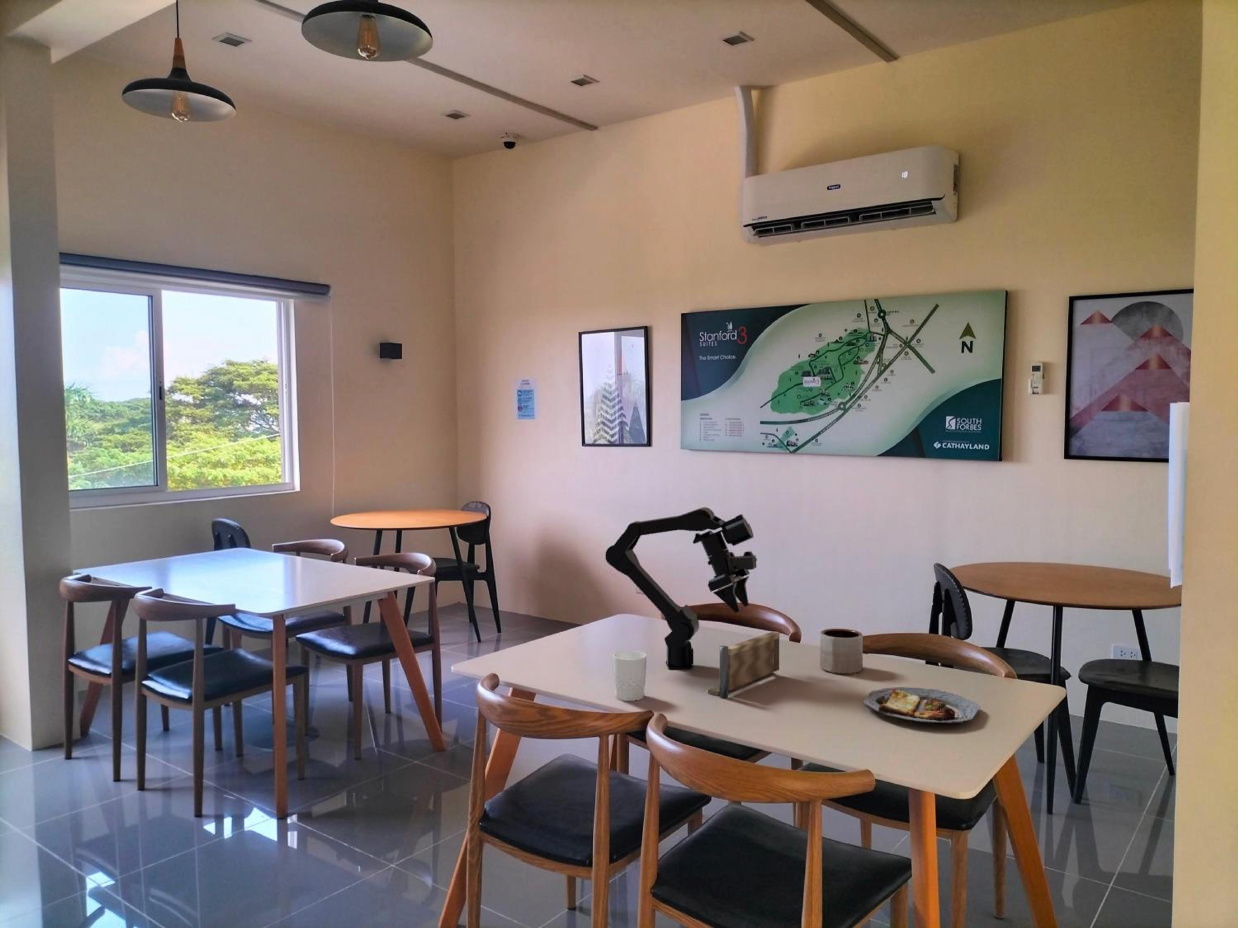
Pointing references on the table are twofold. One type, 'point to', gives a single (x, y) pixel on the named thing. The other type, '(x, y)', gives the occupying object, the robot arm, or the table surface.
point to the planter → (841, 651)
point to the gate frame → (725, 676)
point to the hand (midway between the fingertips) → (742, 608)
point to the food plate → (908, 706)
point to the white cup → (629, 675)
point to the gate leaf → (753, 659)
